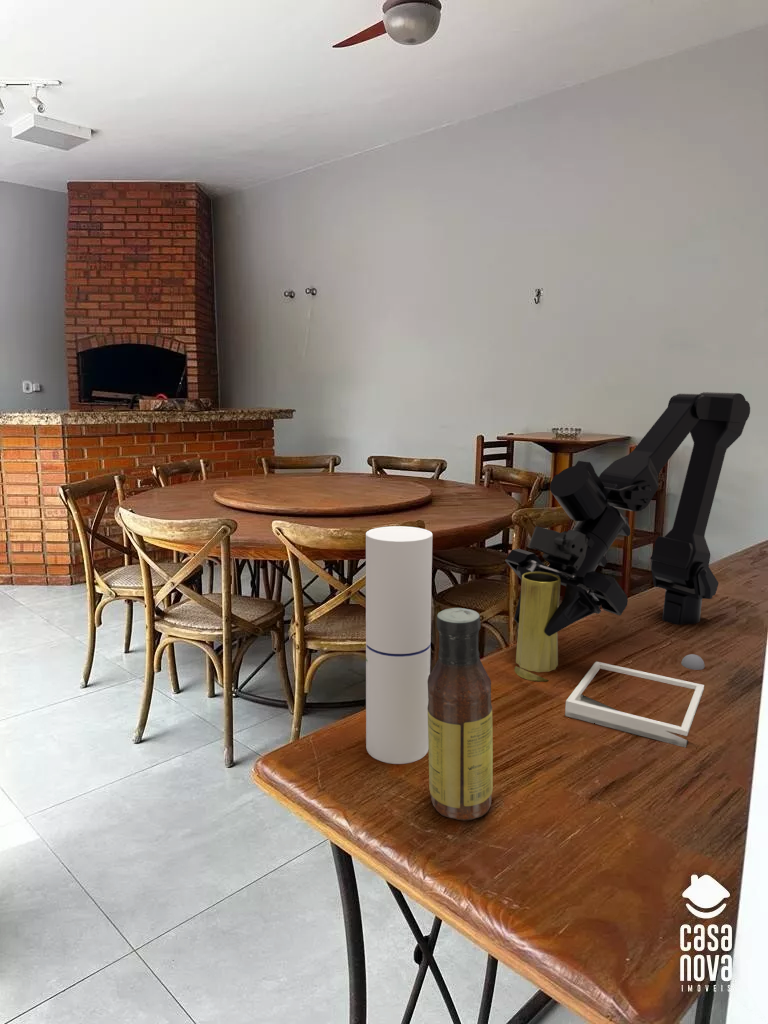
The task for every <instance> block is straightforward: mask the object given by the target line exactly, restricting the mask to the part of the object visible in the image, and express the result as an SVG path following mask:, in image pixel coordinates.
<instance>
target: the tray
mask: <svg viewBox="0 0 768 1024" xmlns="http://www.w3.org/2000/svg"><path fill="white" fill-rule="evenodd" d="M600 669H601V670H605V671H610V672H614V673H619V674H623V675H624V674H625V675H629V676H632V677H636V678H640V679H641V678H642V679H645V680H650V681H655V682H659V683H665V684H668V685H673V686H676V687H682V688H686V689H690V690H694V692H693V695H692V697H691V699H690V703H689V706H688V708H687V711H686V713H685V715H684V718H683V720H682V723H681V726H679V725H675V724H672V723H668V722H663V721H658V720H655V719H651V718H647V717H644V716H640V715H635V714H632V713H627V712H623V711H621V710H618V709H616V708H614V707H611V706H609V705H606V704H604V703H602V702H600V701H597V700H595V699H593V698H590V697H589V696H587V695H584V694H583V692H584V691H585V690H586V688H587V687H588V686H589V684H590V683H591V682H592V681H593V679H594V677H596V674H597V673H598V672H599V670H600ZM704 690H705V684H701V683H698V682H697V683H696V682H692V681H686V680H683V679H679V678H673V677H669V676H664V675H661V674H655V673H650V672H645V671H642V670H639V669H638V670H637V669H632V668H628V667H624V666H623V667H622V666H619V665H614V664H611V663H605V662H601V661H595V662H594V663H593V664H592V666H591V667H590V669H588V671H587V672H586V674H585V675H584V677H583V678H582V679H581V681H580V682H579V683H578V685H577V686H576V687H575V688H574V690H573V691H572V692H571V694H570V695H569V696H568V698H567V699H566V700H565V709H564V711H565V712H564V716H565V717H569V718H572V719H575V720H580V721H584V722H587V723H591V724H594V723H595V725H599V726H602V727H606V728H611V729H613V730H617V731H621V732H625V733H629V734H632V735H637V736H641V737H645V738H647V739H651V740H655V741H658V742H663V743H666V744H669V745H673V746H674V745H675V746H678V747H682V748H687V746H688V743H689V740H687V739H686V738H683V737H681V736H685V737H688V735H689V733H690V729H691V727H692V723H693V721H694V718H695V714H696V712H697V709H698V707H699V704H700V701H701V699H702V695H703V693H704ZM677 734H678V735H681V736H678V735H677Z"/></svg>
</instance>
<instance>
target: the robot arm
mask: <svg viewBox="0 0 768 1024" xmlns="http://www.w3.org/2000/svg"><path fill="white" fill-rule="evenodd" d="M750 414H751V405H750V402H749V401H748V400H747V399H746V397H745V396H744V394H742V393H737V392H710V391H709V392H708V391H707V392H705V391H703V392H700V393H677V394H675V395H672V396H671V397H670V398H669V401H668V404H667V407H666V409H665V410H664V411H663V412H662V414H661V415H660V416H659V418H658V419H657V420H656V421H655V422H654V423H653V425H652V426H651V427H650V428H649V429H648V431H647V432H646V434H645V435H644V436H643V437H642V439H641V440H640V441H639V443H637V445H636V446H635V448H634V449H633V450H632V451H631V452H630V453H629V454H627V455H625V456H622V457H621V458H618V459H615V460H613V462H612V463H610V465H609V466H607V467H606V468H605V469H604V470H603V471H602V472H601V473H600V474H599V476H598V475H597V473H596V471H595V467H594V466H593V464H592V463H591V462H590V461H587V460H585V461H584V460H578V461H577V462H576V463H575V465H574V466H573V465H572V466H570V467H567V468H565V469H563V470H561V471H560V472H558V473H557V474H555V475H554V476H553V478H552V479H551V481H550V484H549V490H550V493H551V494H552V495H553V496H554V498H555V499H556V501H557V503H558V504H559V505H560V506H561V508H562V509H563V511H564V512H565V513H566V514H567V516H568V517H569V519H570V520H572V521H574V522H575V521H576V524H575V526H574V527H573V529H568V531H566V530H564V531H562V532H559V531H556V530H552V529H549V528H546V527H545V528H544V527H540V526H536V525H535V527H534V529H533V533H532V536H531V538H530V540H529V541H530V542H529V544H528V548H529V549H531V550H536V551H539V552H541V553H543V555H542V558H543V560H544V561H545V562H547V563H549V564H548V565H545V564H544V563H543V562H542V560H540V558H539V557H538V556H537V555H536V553H534V552H530V551H527V550H524V549H521V548H514V549H512V550H511V551H510V552H509V554H508V555H507V557H506V558H505V560H504V561H505V563H506V564H507V565H508V566H509V567H510V568H511V570H513V572H514V573H515V575H517V576H518V578H519V579H520V580H521V581H522V575H523V574H524V573H528V572H547V573H552V574H555V575H557V576H559V577H560V580H561V585H560V586H564V587H565V589H564V590H565V591H564V597H563V599H562V601H561V602H560V603H559V607H558V608H557V610H556V612H555V613H554V615H553V616H552V618H551V619H550V621H549V623H548V625H547V627H546V629H545V631H544V632H545V634H546V635H547V636H551V635H553V634H555V633H556V632H557V633H558V632H560V631H562V630H564V629H565V628H567V627H569V626H570V625H572V624H575V622H578V621H580V620H582V619H584V618H587V617H588V616H591V615H592V614H597V615H598V614H600V613H601V612H602V610H601V609H600V607H601V608H602V609H603V611H605V612H608V613H611V614H613V615H617V616H621V615H622V614H623V613H624V612H625V609H626V608H627V606H628V600H629V599H628V594H626V592H625V590H623V588H622V586H620V584H619V583H618V581H617V580H616V579H615V577H614V576H611V575H607V574H604V573H600V572H597V571H596V569H597V567H598V566H601V567H605V566H606V565H607V563H608V562H609V561H608V559H607V558H606V557H605V555H606V553H607V552H608V551H609V550H610V547H611V546H612V545H613V544H614V542H615V540H616V539H617V537H618V535H620V536H625V537H630V536H631V527H630V524H629V518H628V517H627V516H623V515H622V513H621V512H620V511H619V509H620V510H624V511H630V512H642V511H644V510H645V509H646V508H647V507H648V505H650V502H651V501H652V499H653V498H654V495H655V494H656V492H657V491H658V489H659V474H660V473H661V472H662V469H663V468H664V467H665V466H666V464H667V463H668V461H670V459H671V458H672V456H673V455H674V453H676V451H677V450H678V448H679V447H680V446H681V444H682V443H683V441H684V440H685V439H686V438H687V436H689V434H690V435H691V439H692V442H693V445H692V446H693V447H692V450H691V454H690V458H689V462H688V466H687V469H686V473H685V478H684V482H683V485H682V490H681V494H680V498H679V501H678V505H677V509H676V513H675V517H674V520H673V525H672V528H671V529H670V530H669V532H667V533H666V534H665V535H664V536H660V535H659V536H657V538H656V539H655V540H654V546H653V548H654V549H653V551H652V554H651V556H650V558H649V559H650V571H651V575H652V576H651V577H652V582H653V587H654V588H660V589H664V590H665V592H664V601H663V611H662V621H663V622H666V623H670V624H672V625H677V626H678V625H694V624H695V625H696V624H697V623H700V622H701V616H702V614H701V613H702V603H703V599H706V600H712V599H713V597H714V596H716V593H717V591H718V587H719V581H718V580H717V577H715V575H714V572H713V571H712V570H711V568H710V566H709V565H710V560H711V551H710V549H709V545H708V542H707V540H706V537H705V535H706V530H707V526H708V523H709V518H710V516H711V512H712V511H711V510H712V507H713V503H714V498H715V495H716V491H717V487H718V484H719V481H720V476H721V471H722V467H723V463H724V460H725V457H726V453H727V450H728V449H729V448H730V447H732V445H733V444H734V443H735V442H736V441H737V440H738V438H740V437H741V436H742V434H743V431H744V427H745V426H746V423H747V421H748V419H749V418H750ZM520 602H521V592H520V594H519V598H518V602H517V606H516V609H515V614H514V617H513V618H514V621H515V622H516V624H519V615H520Z"/></svg>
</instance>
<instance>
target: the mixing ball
mask: <svg viewBox="0 0 768 1024" xmlns="http://www.w3.org/2000/svg"><path fill="white" fill-rule="evenodd" d="M680 664H681V666H682V667H684V668H686V669H689V670H695V671H696V670H697V671H702V670H704V669H705V662H704V659H703V658H702V657H701V656H700V655H697V654H694V653H691V654H690V653H689V654H687V655H684V657H683V658H682V660H681V663H680Z"/></svg>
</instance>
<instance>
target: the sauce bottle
mask: <svg viewBox="0 0 768 1024" xmlns="http://www.w3.org/2000/svg"><path fill="white" fill-rule="evenodd" d="M436 628H437V631H438V642H439V643H438V647H439V649H438V654H437V655H438V659H437V661H436V663H435V665H434V666H433V668H432V670H430V675H429V677H428V708H427V709H428V746H429V749H428V784H429V787H428V788H429V789H428V790H429V792H430V799H431V803H432V805H433V807H434V809H435V810H436V812H438V813H439V814H440V815H442V816H443V817H446V818H450V819H454V820H459V821H472V820H475V819H478V818H481V817H483V816H484V815H486V814H487V813H488V811H490V807H491V804H492V794H493V791H494V789H493V788H494V787H493V785H494V781H493V780H494V777H493V776H494V775H493V772H494V771H493V767H494V766H493V760H494V759H493V758H494V757H493V750H494V749H493V742H494V741H493V706H492V680H491V678H490V677H489V675H488V673H487V671H486V669H485V666H484V665H483V662H482V661H481V658H480V651H479V633H480V632H479V631H480V630H481V616H480V613H479V612H477V611H476V610H473V609H469V608H464V607H463V608H462V607H452V608H445V609H443V610H441V611H439V612H438V613H437V614H436Z"/></svg>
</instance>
